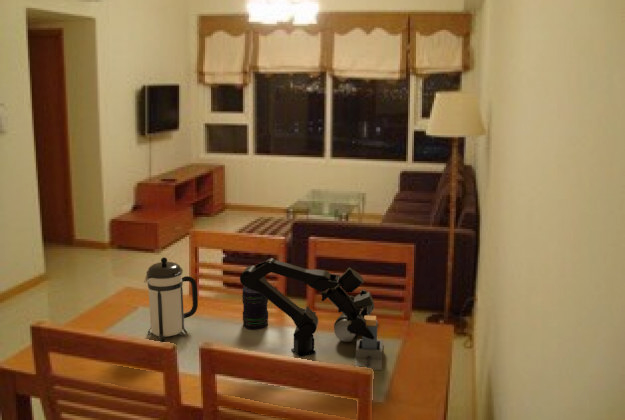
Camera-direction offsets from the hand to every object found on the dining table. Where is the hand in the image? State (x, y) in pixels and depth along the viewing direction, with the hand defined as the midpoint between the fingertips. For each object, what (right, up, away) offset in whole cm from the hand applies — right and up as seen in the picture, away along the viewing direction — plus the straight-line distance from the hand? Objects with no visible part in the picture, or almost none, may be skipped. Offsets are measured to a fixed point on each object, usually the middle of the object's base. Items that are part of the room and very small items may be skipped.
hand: (373, 332), depth 205 cm
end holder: (-1, -8, +2) cm, 9 cm away
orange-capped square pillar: (-1, -7, +2) cm, 8 cm away
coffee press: (-74, -4, +20) cm, 77 cm away
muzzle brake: (-5, -4, +23) cm, 24 cm away
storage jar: (-43, -3, +28) cm, 51 cm away
